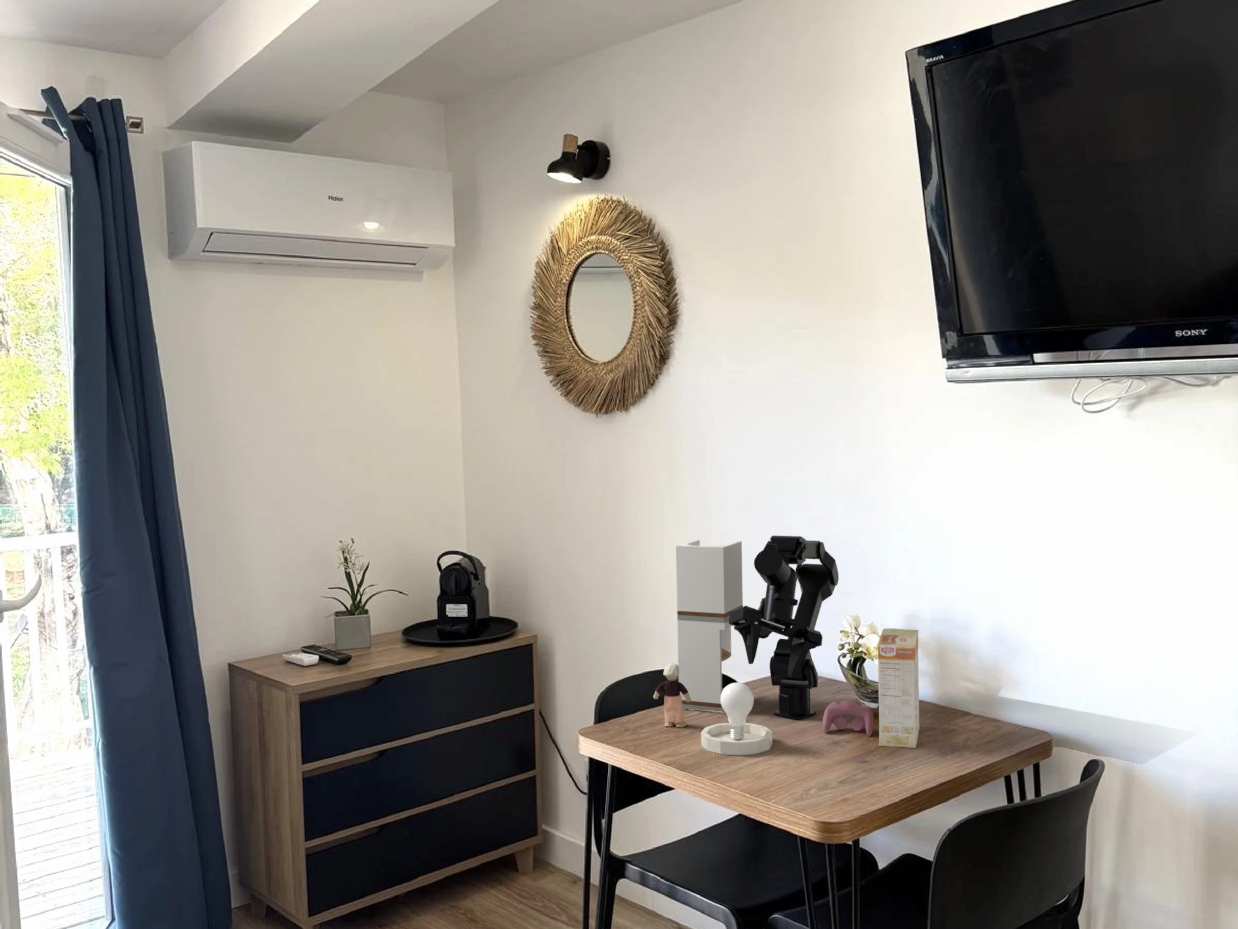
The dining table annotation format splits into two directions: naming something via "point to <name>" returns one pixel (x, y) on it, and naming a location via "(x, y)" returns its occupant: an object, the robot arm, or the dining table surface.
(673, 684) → the grandmother figurine
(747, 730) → the dish
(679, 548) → the white tower with stripe
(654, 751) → the dining table surface
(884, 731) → the coffeecake box
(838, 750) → the dining table surface
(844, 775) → the dining table surface
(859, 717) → the video game controller
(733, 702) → the lightbulb
